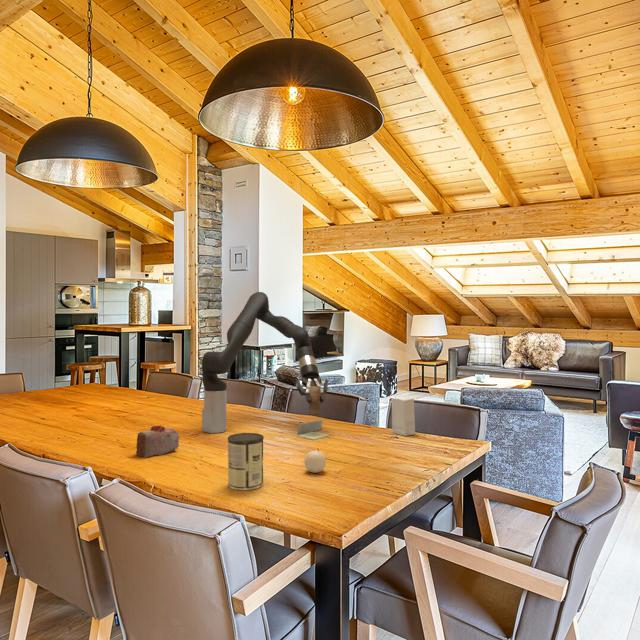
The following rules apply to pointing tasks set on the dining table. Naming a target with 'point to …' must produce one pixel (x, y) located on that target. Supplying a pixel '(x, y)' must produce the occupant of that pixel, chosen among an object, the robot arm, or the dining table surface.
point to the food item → (157, 441)
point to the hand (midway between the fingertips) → (316, 402)
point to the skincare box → (403, 416)
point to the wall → (309, 427)
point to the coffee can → (245, 461)
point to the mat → (313, 435)
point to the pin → (315, 400)
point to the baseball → (315, 461)
